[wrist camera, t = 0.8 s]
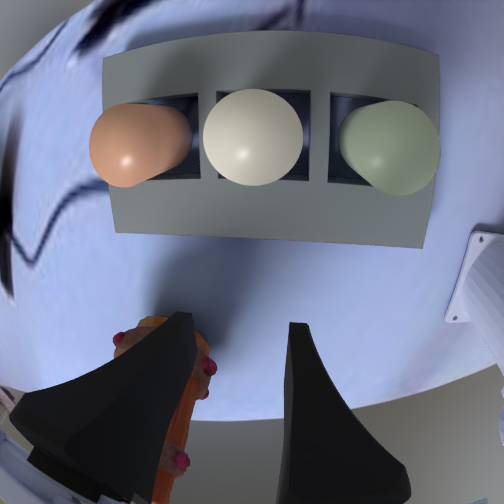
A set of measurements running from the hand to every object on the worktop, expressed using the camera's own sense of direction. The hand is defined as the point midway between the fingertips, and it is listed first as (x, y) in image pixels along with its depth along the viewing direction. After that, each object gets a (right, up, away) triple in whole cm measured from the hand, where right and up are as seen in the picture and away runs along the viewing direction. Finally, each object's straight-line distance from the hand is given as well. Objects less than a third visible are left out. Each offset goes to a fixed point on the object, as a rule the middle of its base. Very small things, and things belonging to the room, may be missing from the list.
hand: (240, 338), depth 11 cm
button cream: (+1, +10, +4) cm, 10 cm away
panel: (+1, +10, +5) cm, 12 cm away
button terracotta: (-5, +10, +5) cm, 12 cm away
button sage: (+7, +9, +3) cm, 12 cm away
